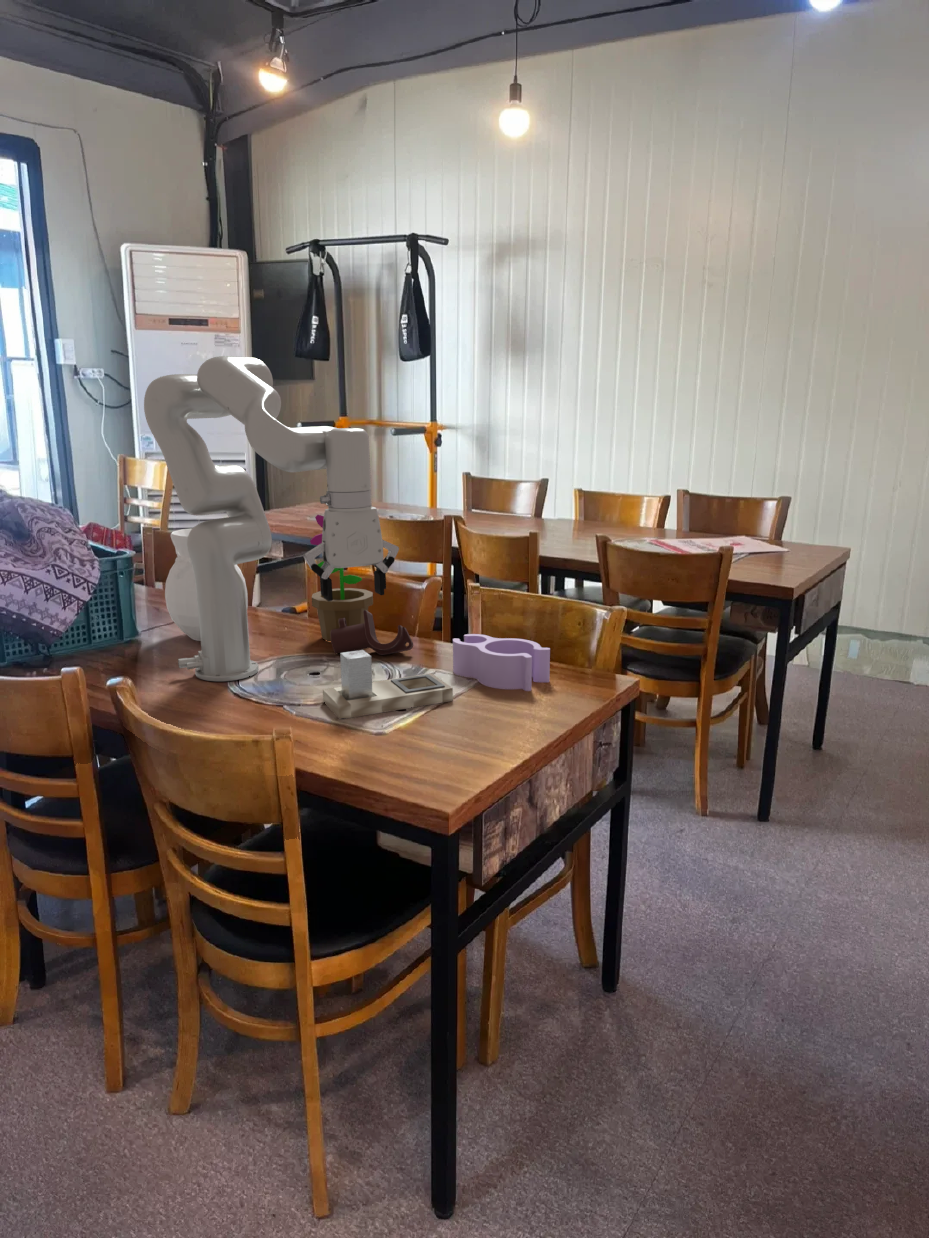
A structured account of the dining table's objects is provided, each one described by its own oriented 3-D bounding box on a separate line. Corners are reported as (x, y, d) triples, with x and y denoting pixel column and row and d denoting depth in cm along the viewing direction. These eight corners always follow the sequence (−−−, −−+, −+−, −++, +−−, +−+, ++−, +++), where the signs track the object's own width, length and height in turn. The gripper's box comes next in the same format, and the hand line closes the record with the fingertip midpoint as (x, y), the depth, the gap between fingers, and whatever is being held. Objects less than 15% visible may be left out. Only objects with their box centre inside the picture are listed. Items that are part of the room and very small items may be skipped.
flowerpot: (366, 627, 222) (362, 504, 215) (382, 642, 209) (378, 511, 202) (307, 632, 218) (301, 507, 210) (320, 648, 205) (313, 515, 197)
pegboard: (339, 719, 162) (339, 704, 161) (323, 702, 170) (322, 687, 170) (452, 700, 171) (452, 686, 170) (431, 685, 180) (431, 671, 179)
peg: (349, 712, 165) (347, 659, 163) (342, 704, 169) (340, 652, 167) (372, 708, 167) (371, 656, 165) (364, 701, 171) (363, 649, 168)
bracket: (411, 647, 196) (403, 602, 197) (334, 663, 197) (326, 617, 198) (415, 650, 202) (407, 606, 203) (341, 665, 203) (333, 621, 204)
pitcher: (152, 639, 213) (142, 532, 207) (214, 622, 228) (206, 522, 221) (205, 652, 203) (196, 540, 196) (267, 633, 217) (260, 529, 211)
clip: (440, 676, 186) (440, 643, 184) (477, 661, 195) (477, 630, 194) (522, 695, 174) (522, 660, 172) (557, 678, 184) (557, 645, 182)
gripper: (307, 506, 152) (313, 606, 156) (404, 499, 159) (407, 595, 163) (295, 501, 159) (301, 598, 163) (388, 495, 166) (391, 587, 170)
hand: (354, 596), depth 163 cm, fingers open, 9 cm apart
